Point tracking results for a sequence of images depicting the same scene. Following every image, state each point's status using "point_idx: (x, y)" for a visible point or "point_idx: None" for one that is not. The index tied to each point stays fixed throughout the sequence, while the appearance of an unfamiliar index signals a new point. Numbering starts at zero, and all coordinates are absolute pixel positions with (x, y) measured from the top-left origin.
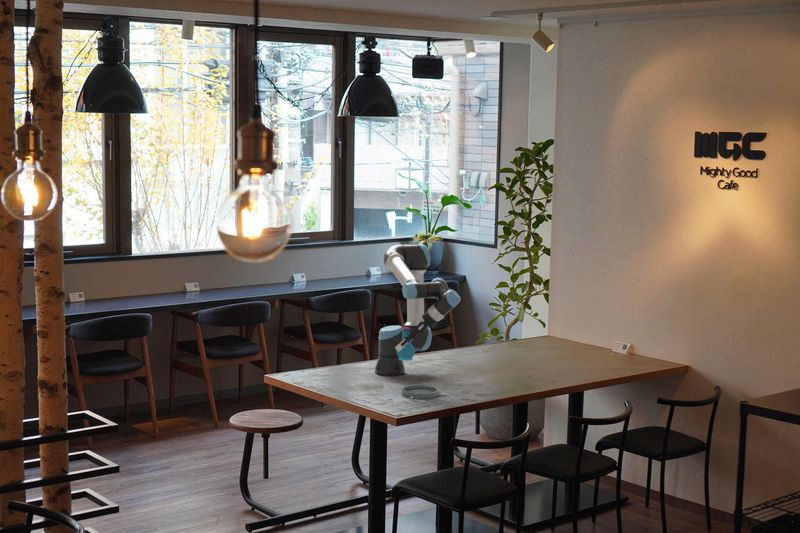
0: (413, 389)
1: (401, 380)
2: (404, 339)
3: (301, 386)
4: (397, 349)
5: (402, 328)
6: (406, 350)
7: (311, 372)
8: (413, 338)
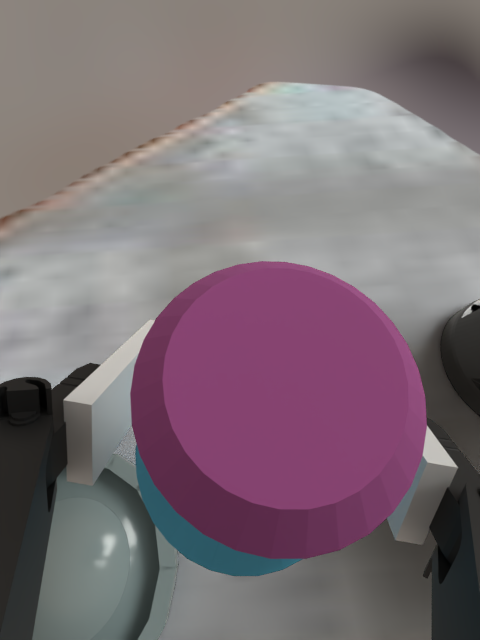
0: (138, 516)
1: None
2: (71, 402)
3: (201, 123)
4: None
5: (228, 273)
6: (138, 454)
7: (392, 131)
8: (431, 557)
